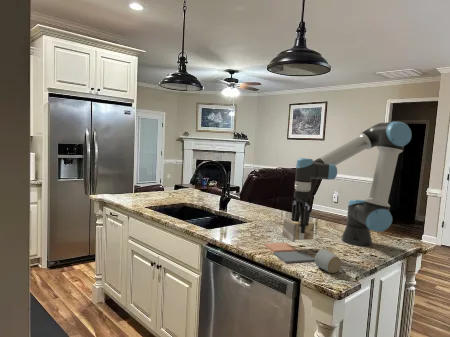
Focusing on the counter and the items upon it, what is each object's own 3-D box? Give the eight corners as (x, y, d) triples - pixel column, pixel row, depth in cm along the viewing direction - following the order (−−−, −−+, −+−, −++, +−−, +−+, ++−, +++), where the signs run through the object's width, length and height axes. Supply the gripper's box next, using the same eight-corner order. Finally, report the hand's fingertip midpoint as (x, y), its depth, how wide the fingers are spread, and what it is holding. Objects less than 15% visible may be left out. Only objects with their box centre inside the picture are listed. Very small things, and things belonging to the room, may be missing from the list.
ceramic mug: (328, 275, 126) (330, 256, 126) (313, 267, 133) (315, 249, 133) (347, 272, 131) (349, 254, 131) (332, 265, 138) (334, 247, 138)
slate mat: (302, 252, 152) (302, 251, 152) (315, 261, 141) (316, 259, 141) (273, 254, 147) (273, 252, 147) (285, 263, 136) (285, 261, 136)
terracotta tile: (286, 242, 162) (264, 243, 158) (297, 249, 152) (274, 250, 148) (286, 246, 162) (264, 247, 158) (297, 252, 153) (274, 254, 149)
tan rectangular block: (304, 235, 165) (306, 219, 164) (316, 241, 156) (318, 224, 155) (282, 235, 161) (283, 220, 160) (292, 242, 151) (294, 225, 151)
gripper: (286, 187, 163) (282, 233, 165) (305, 193, 147) (301, 243, 149) (299, 187, 165) (295, 232, 167) (319, 193, 149) (315, 243, 151)
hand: (298, 237), depth 158 cm, fingers closed on tan rectangular block, 4 cm apart
